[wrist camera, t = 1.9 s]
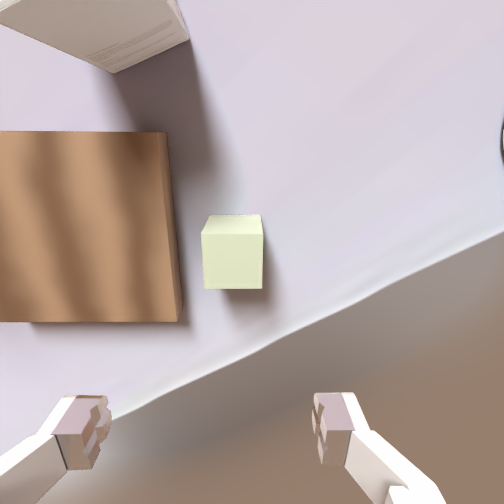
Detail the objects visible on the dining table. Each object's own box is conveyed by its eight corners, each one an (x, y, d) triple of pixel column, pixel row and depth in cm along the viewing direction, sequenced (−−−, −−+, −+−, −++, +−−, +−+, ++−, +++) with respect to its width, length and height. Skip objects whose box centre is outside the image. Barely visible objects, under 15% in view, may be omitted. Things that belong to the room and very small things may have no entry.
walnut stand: (166, 132, 26) (156, 132, 23) (183, 305, 32) (176, 321, 30) (-39, 130, 25) (-75, 130, 23) (21, 305, 32) (-1, 322, 29)
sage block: (260, 214, 29) (263, 233, 23) (259, 260, 31) (262, 288, 25) (210, 214, 29) (200, 233, 23) (212, 260, 30) (204, 288, 25)
